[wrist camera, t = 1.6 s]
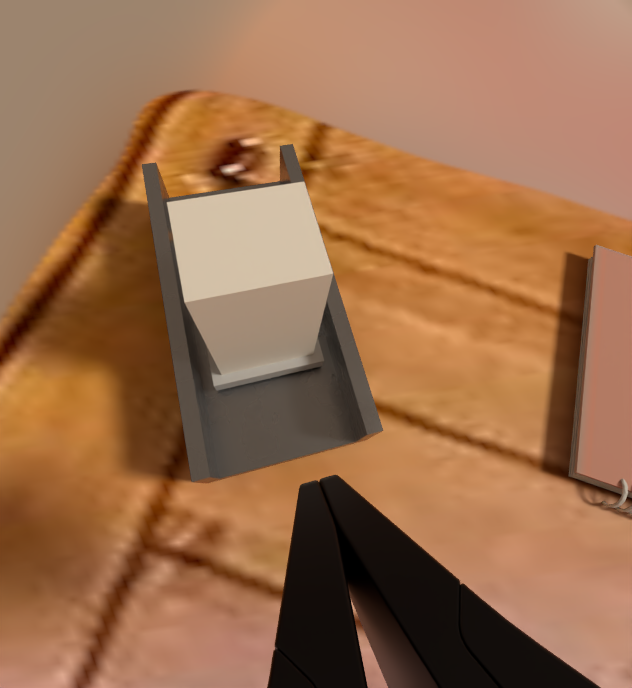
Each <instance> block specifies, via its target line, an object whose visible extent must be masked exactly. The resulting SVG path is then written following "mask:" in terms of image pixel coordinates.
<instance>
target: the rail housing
mask: <svg viewBox="0 0 632 688" xmlns="http://www.w3.org/2000/svg"><path fill="white" fill-rule="evenodd" d="M142 169H143V175H144V182H145V188H146V194H147V201H148V207H149V213H150V220H151V226H152V233H153V239H154V245H155V252H156V258H157V264H158V271H159V277H160V283H161V290H162V296H163V303H164V309H165V315H166V322H167V328H168V334H169V341H170V347H171V353H172V360H173V366H174V373H175V379H176V385H177V392H178V398H179V404H180V411H181V417H182V423H183V430H184V436H185V443H186V449H187V455H188V462H189V468H190V474H191V481H192V482H197V483H210V482H214V481H217V480H221V479H225V478H228V477H232V476H236V475H239V474H243V473H247V472H250V471H254V470H258V469H262V468H265V467H269V466H273V465H276V464H280V463H284V462H287V461H291V460H295V459H298V458H302V457H306V456H309V455H313V454H317V453H320V452H324V451H328V450H332V449H335V448H339V447H343V446H346V445H350V444H354V443H357V442H361V441H365V440H367V439H369V438H371V437H373V436H374V435H376V434H378V433H380V432H382V431H383V428H382V425H381V422H380V419H379V416H378V412H377V409H376V406H375V403H374V400H373V397H372V394H371V390H370V387H369V384H368V381H367V378H366V375H365V371H364V368H363V365H362V362H361V359H360V356H359V352H358V349H357V346H356V343H355V340H354V337H353V333H352V330H351V327H350V324H349V321H348V318H347V314H346V311H345V308H344V305H343V302H342V299H341V295H340V292H339V289H338V286H337V283H336V280H335V276H334V273H333V277H332V281H331V285H330V289H329V293H328V297H327V301H326V305H325V309H324V313H323V317H322V321H321V325H320V329H319V333H318V340H319V344H320V347H321V351H322V354H323V358H324V363H323V366H320V367H316V368H312V369H308V370H303V371H299V372H295V373H290V374H286V375H282V376H278V377H273V378H269V379H265V380H260V381H256V382H252V383H248V384H243V385H239V386H235V387H231V388H226V389H222V390H218V391H217V390H216V389H215V387H214V384H213V379H212V374H211V369H210V363H209V358H208V353H207V347H206V343H205V342H204V340H203V338H202V336H201V334H200V332H199V330H198V328H197V326H196V324H195V322H194V320H193V318H192V316H191V314H190V312H189V310H188V308H187V306H186V304H185V303H184V297H183V291H182V285H181V280H180V274H179V268H178V263H177V257H176V251H175V246H174V240H173V234H172V229H171V223H170V217H169V212H168V206H167V202H172V201H179V200H185V199H192V198H199V197H205V196H212V195H218V194H225V193H232V192H238V191H245V190H251V189H258V188H265V187H271V186H278V185H284V184H291V183H298V182H304V178H303V175H302V172H301V169H300V166H299V163H298V159H297V156H296V153H295V150H294V147H293V144H290V145H283V146H280V181H279V182H272V183H266V184H259V185H252V186H246V187H239V188H232V189H226V190H219V191H212V192H206V193H199V194H192V195H186V196H179V197H172V198H169V195H168V193H167V190H166V188H165V185H164V182H163V180H162V177H161V174H160V172H159V169H158V166H157V164H156V163H149V164H142ZM304 183H305V182H304ZM305 186H306V185H305ZM306 189H307V188H306ZM307 192H308V191H307ZM308 195H309V194H308ZM309 198H310V197H309ZM310 202H311V201H310ZM311 205H312V204H311ZM312 208H313V207H312ZM313 211H314V210H313ZM314 214H315V213H314ZM315 217H316V216H315ZM316 221H317V220H316ZM317 224H318V223H317ZM318 227H319V226H318ZM319 230H320V229H319ZM320 233H321V232H320ZM321 236H322V235H321ZM322 240H323V239H322ZM323 243H324V242H323ZM324 246H325V245H324ZM325 249H326V248H325ZM326 252H327V251H326ZM327 255H328V254H327ZM328 259H329V257H328ZM329 262H330V261H329ZM330 265H331V264H330ZM331 268H332V267H331ZM332 271H333V270H332Z"/></svg>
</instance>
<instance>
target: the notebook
mask: <svg viewBox="0 0 632 688" xmlns="http://www.w3.org/2000/svg"><path fill="white" fill-rule="evenodd" d="M569 476H570V477H573V478H576V479H578V480H581V481H584V482H587V483H590V484H593V485H596V486H599V487H602V488H604V489H607V490H610V491H613V492H616V493H619V494H622V496H621V498H620V499H619V501H618V502H616V503H614V504H611V505H608V504H607V503H606V502H604V501H603V502H602V504H603V505H604V506H606V507H612V508H616V509H617V510H618V511H622V512H628V513H629V514H630V515H632V512H631V511H632V505H631V506H630V507H628V508H626V509H620V508H619V506H621V505H622V504H623V503H624V502H625V500H626V498H627V497H630V498H632V257H631V256H628V255H625V254H622V253H619V252H616V251H613V250H610V249H607V248H604V247H601V246H598V245H595V246H594V250H593V257H591V258H590V259H588V270H587V280H586V291H585V302H584V313H583V324H582V335H581V346H580V357H579V368H578V379H577V390H576V401H575V412H574V423H573V433H572V444H571V455H570V466H569Z"/></svg>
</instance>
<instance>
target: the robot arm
mask: <svg viewBox="0 0 632 688" xmlns="http://www.w3.org/2000/svg"><path fill="white" fill-rule="evenodd" d="M350 598H351V599H350ZM351 600H352V602H353V605H354V607H355V609H356V612H357V614H358V617H359V619H360V621H361V624H362V626H363V628H364V631H365V633H366V636H367V638H368V640H369V643H370V645H371V648H372V650H373V652H374V655H375V657H376V659H377V662H378V664H379V667H380V669H381V671H382V674H383V676H384V678H385V681H386V683H387V686H388V688H601V687H599V686H598V685H596V684H595V683H593V682H592V681H591V680H589V679H588V678H586V677H585V676H584V675H582V674H581V673H579V672H578V671H577V670H575V669H574V668H572V667H571V666H570V665H568V664H567V663H565V662H564V661H563V660H561V659H560V658H558V657H557V656H555V655H554V654H553V653H551V652H550V651H548V650H547V649H546V648H544V647H543V646H541V645H540V644H539V643H537V642H536V641H535V640H533V639H532V638H531V637H529V636H528V635H527V634H525V633H524V632H523V631H521V630H520V629H518V628H517V627H516V626H514V625H513V624H512V623H510V622H509V621H508V620H507V619H505V618H504V617H503V616H502V615H500V614H499V613H498V612H497V611H496V610H494V609H493V608H492V607H491V606H489V605H488V604H487V603H486V602H485V601H483V600H482V599H481V598H480V597H479V596H477V595H476V594H475V593H474V592H473V591H472V590H471V589H469V588H468V587H467V586H466V585H465V584H461V585H460V580H459V579H458V578H456V577H455V576H454V575H453V574H452V573H451V572H449V571H448V570H447V569H446V568H445V567H444V566H442V565H441V564H440V563H439V562H438V561H437V560H435V559H434V558H433V557H432V556H431V555H430V554H429V553H427V552H426V551H425V550H424V549H423V548H422V547H420V546H419V545H418V544H417V543H416V542H415V541H413V540H412V539H411V538H410V537H409V536H408V535H406V534H405V533H404V532H403V531H402V530H401V529H400V528H398V527H397V526H396V525H395V524H394V523H393V522H391V521H390V520H389V519H388V518H387V517H386V516H384V515H383V514H382V513H381V512H380V511H379V510H377V509H376V508H375V507H374V506H373V505H372V504H370V503H369V502H368V501H367V500H366V499H365V498H364V497H362V496H361V495H360V494H359V493H358V492H357V491H355V490H354V489H353V488H352V487H351V486H350V485H348V484H347V483H346V482H345V481H344V480H343V479H341V478H340V477H339V476H337V475H333V476H329V477H325V478H322V479H320V481H319V482H318V481H316V480H315V481H311V482H308V483H304V484H301V485H300V488H299V493H298V500H297V506H296V512H295V519H294V525H293V532H292V538H291V544H290V551H289V557H288V563H287V570H286V576H285V582H284V589H283V595H282V602H281V608H280V614H279V621H278V627H277V633H276V640H275V650H274V651H273V657H272V664H271V670H270V676H269V681H268V687H267V688H368V687H367V682H366V676H365V671H364V666H363V661H362V656H361V651H360V646H359V640H358V635H357V630H356V625H355V620H354V615H353V609H352V604H351Z"/></svg>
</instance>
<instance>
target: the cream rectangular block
mask: <svg viewBox="0 0 632 688" xmlns="http://www.w3.org/2000/svg"><path fill="white" fill-rule="evenodd" d="M167 206H168V212H169V217H170V223H171V229H172V234H173V240H174V246H175V251H176V257H177V263H178V268H179V274H180V280H181V285H182V291H183V297H184V303H185V304H186V306H187V308H188V310H189V312H190V314H191V316H192V318H193V320H194V322H195V324H196V326H197V328H198V330H199V332H200V334H201V336H202V338H203V340H204V342H205V343H206V347H207V353H208V358H209V363H210V369H211V374H212V379H213V384H214V387H215V389H216V390H217V391H218V390H222V389H226V388H231V387H235V386H239V385H243V384H248V383H252V382H256V381H260V380H265V379H269V378H273V377H278V376H282V375H286V374H290V373H295V372H299V371H303V370H308V369H312V368H316V367H320V366H323V363H324V358H323V354H322V351H321V347H320V344H319V340H318V333H319V329H320V325H321V321H322V317H323V313H324V309H325V305H326V301H327V297H328V293H329V289H330V285H331V281H332V277H333V271H332V268H331V265H330V262H329V259H328V255H327V252H326V249H325V246H324V243H323V240H322V236H321V233H320V230H319V227H318V224H317V221H316V217H315V214H314V211H313V208H312V205H311V202H310V198H309V195H308V192H307V189H306V186H305V183H304V182H298V183H291V184H284V185H278V186H271V187H265V188H258V189H251V190H245V191H238V192H232V193H225V194H218V195H212V196H205V197H199V198H192V199H185V200H179V201H172V202H167Z"/></svg>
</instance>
